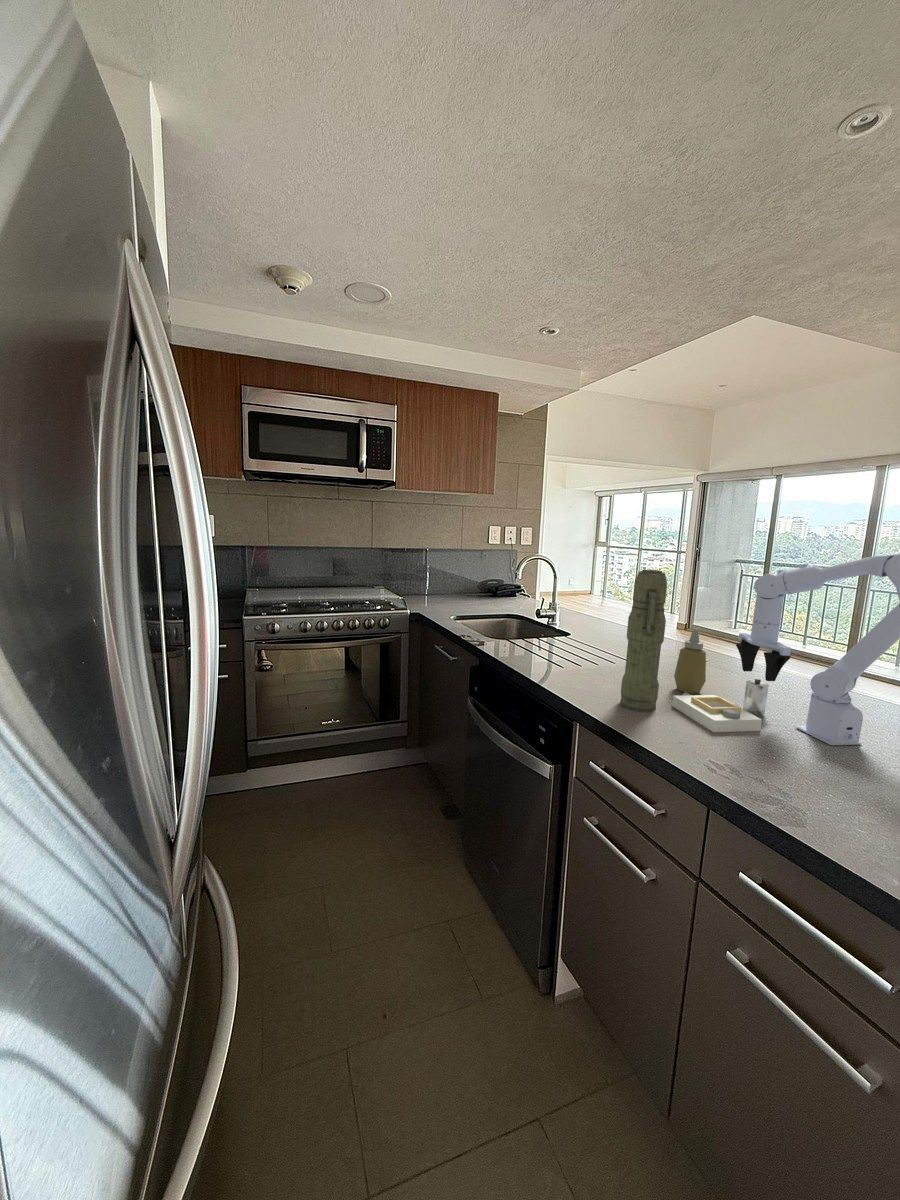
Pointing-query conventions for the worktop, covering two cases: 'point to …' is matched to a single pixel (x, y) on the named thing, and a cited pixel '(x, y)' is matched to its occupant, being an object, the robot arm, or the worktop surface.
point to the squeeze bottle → (691, 666)
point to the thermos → (644, 642)
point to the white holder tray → (716, 713)
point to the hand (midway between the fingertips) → (758, 675)
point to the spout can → (755, 697)
